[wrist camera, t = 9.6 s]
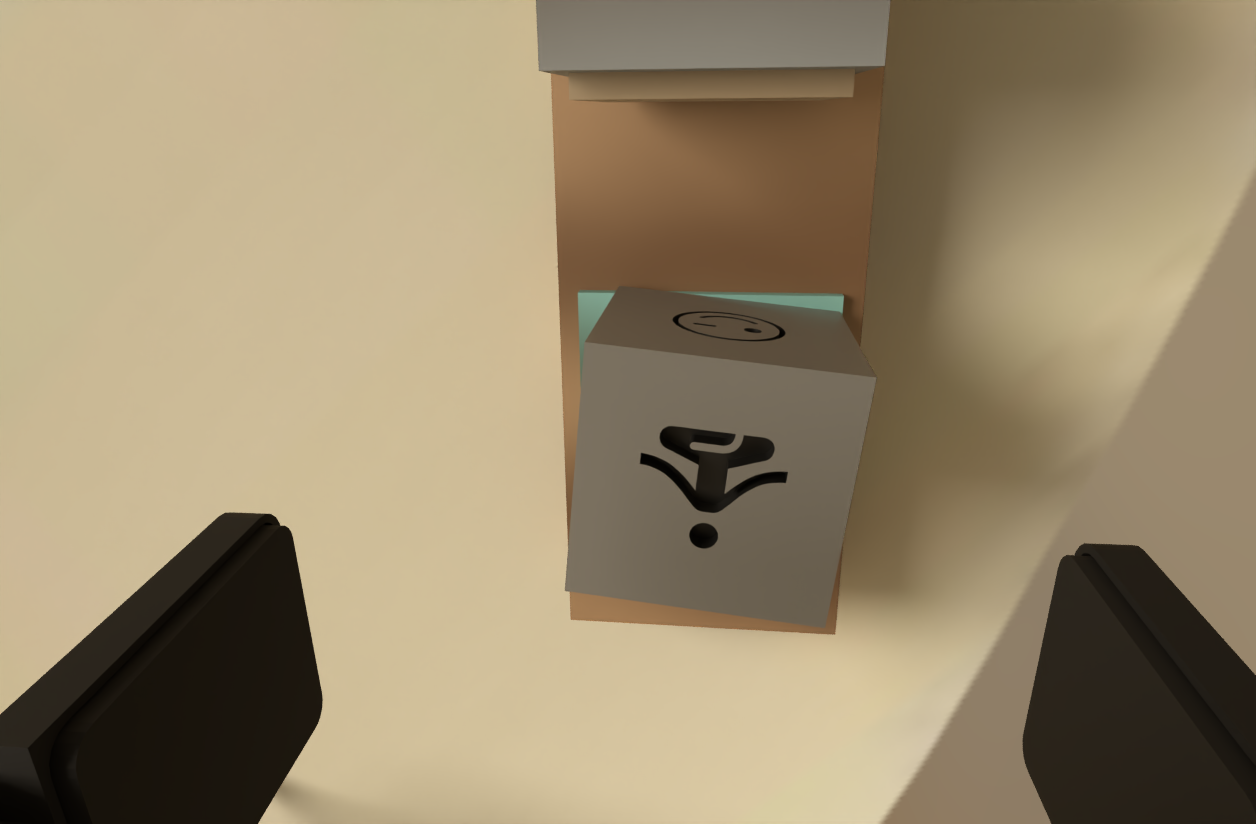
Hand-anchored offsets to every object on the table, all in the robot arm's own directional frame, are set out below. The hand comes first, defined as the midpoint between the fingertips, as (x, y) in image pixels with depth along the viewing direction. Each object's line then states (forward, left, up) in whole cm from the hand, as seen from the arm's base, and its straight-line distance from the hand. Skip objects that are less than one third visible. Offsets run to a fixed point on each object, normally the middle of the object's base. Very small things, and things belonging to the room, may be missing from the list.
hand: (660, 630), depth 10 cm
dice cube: (0, +1, -10) cm, 10 cm away
